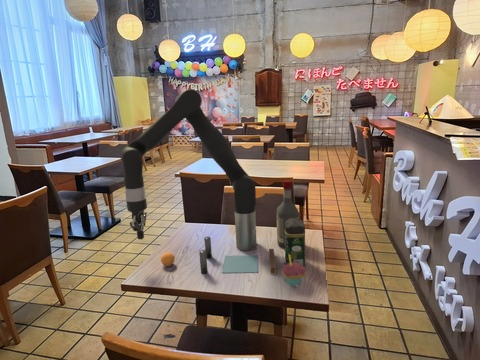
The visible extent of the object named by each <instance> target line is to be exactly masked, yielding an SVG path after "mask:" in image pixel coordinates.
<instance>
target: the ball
mask: <svg viewBox="0 0 480 360" xmlns="http://www.w3.org/2000/svg"><path fill="white" fill-rule="evenodd" d="M175 259H176V258H175V256H174V254H173V253H172V252H169V251H167V252H165V253H163V254H162V255H161V258H160V262H161V264H162V265H163V266H165V267H170V266H172V265H173V264H174V262H175Z"/></svg>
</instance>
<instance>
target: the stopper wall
mask: <svg viewBox="0 0 480 360" xmlns="http://www.w3.org/2000/svg"><path fill="white" fill-rule="evenodd" d="M268 255H269V257H268V258H269V266H270V267H269V268H270V274H271V275H273V274H274V275H275V274H276V275H277V265H276V257H275V249H274V248H268Z"/></svg>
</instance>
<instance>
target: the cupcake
mask: <svg viewBox="0 0 480 360" xmlns="http://www.w3.org/2000/svg"><path fill="white" fill-rule="evenodd" d="M289 262H290V263H288V264H286V263H284V265H283V266H282V269H281V274H282V275H283V277H285V279H286V283H287V284H288V285H289V286H295V287H296V286H299V285H301V283H302V279H303V278H305V276H307V271H306V268H305V267H304V266H303V265H301V264H299V263H296V262H291V256H290V255H289Z"/></svg>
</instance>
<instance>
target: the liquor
mask: <svg viewBox="0 0 480 360" xmlns="http://www.w3.org/2000/svg"><path fill="white" fill-rule="evenodd" d="M282 189H283V199H282V202H281V203H280V205H278V207H277V208H276V240H277V244H278V248H281V249H284V250H285V222H286V221H287V220H288V219H289V218H299V219H300V212H299V209H298V208H297V206H296V205H295V204H294V203H293V200H292V180H291V179H284V180H282Z"/></svg>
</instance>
